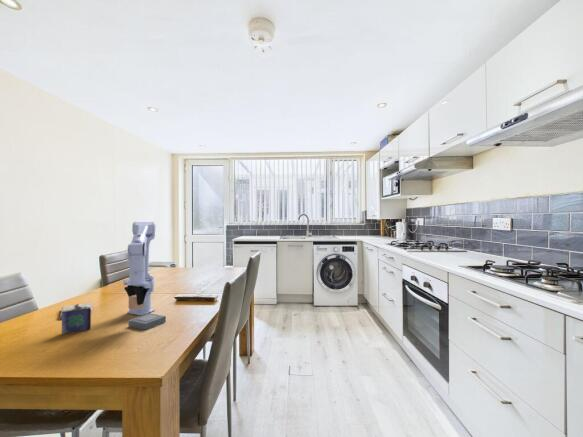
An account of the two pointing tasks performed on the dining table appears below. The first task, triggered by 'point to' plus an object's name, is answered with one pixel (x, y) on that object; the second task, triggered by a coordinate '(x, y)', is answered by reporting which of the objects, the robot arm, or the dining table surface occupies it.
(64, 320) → the flask
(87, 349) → the dining table surface
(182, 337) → the dining table surface
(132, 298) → the terracotta block
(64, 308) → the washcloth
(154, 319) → the slate plinth
